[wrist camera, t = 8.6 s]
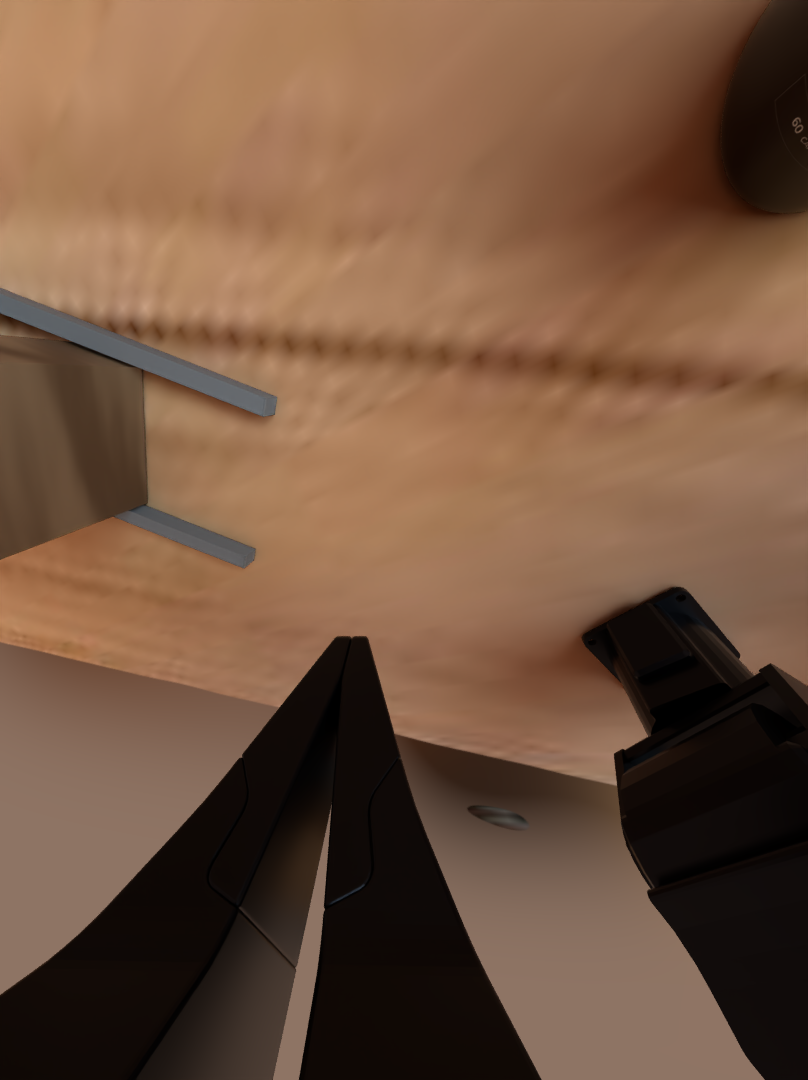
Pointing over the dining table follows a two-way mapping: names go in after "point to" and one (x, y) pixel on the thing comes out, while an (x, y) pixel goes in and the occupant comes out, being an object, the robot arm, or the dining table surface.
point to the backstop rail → (170, 370)
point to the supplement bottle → (770, 112)
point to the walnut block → (66, 440)
